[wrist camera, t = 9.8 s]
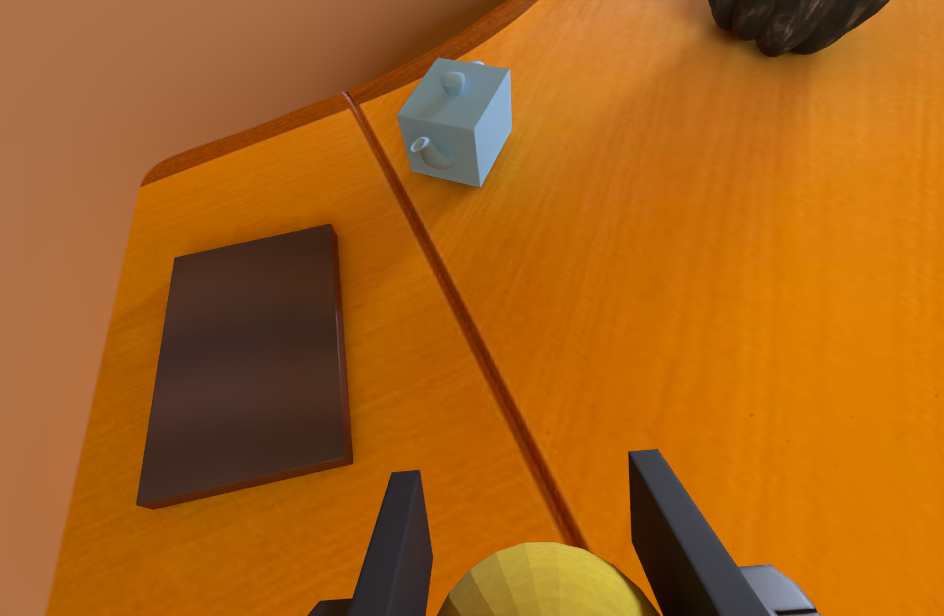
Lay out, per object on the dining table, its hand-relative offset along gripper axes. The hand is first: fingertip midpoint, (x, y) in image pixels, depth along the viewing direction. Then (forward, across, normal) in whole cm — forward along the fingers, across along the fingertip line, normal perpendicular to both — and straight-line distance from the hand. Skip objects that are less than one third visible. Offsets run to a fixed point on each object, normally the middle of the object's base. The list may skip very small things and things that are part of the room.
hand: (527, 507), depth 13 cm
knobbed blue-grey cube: (+32, -2, +10) cm, 33 cm away
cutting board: (+20, -17, -1) cm, 26 cm away
